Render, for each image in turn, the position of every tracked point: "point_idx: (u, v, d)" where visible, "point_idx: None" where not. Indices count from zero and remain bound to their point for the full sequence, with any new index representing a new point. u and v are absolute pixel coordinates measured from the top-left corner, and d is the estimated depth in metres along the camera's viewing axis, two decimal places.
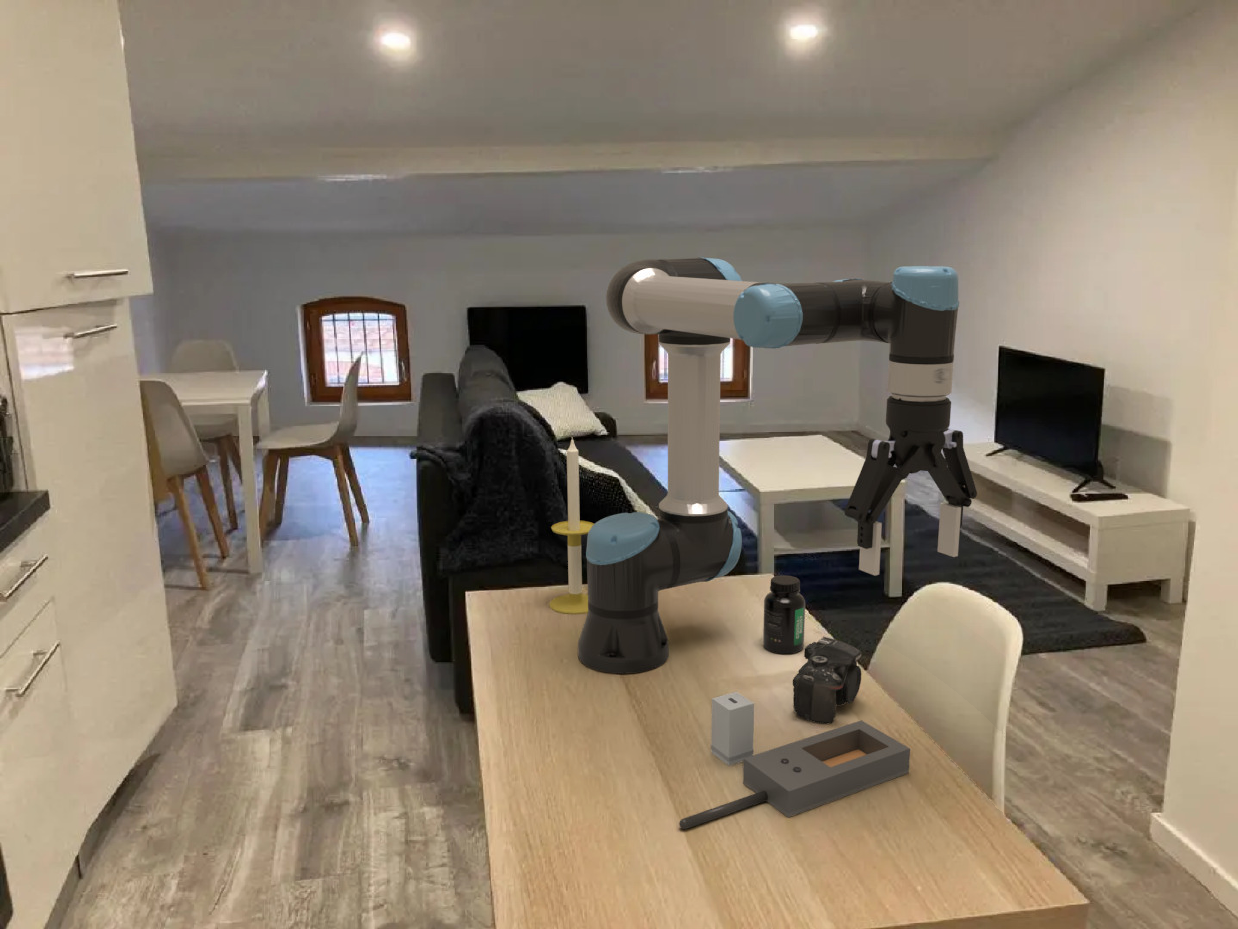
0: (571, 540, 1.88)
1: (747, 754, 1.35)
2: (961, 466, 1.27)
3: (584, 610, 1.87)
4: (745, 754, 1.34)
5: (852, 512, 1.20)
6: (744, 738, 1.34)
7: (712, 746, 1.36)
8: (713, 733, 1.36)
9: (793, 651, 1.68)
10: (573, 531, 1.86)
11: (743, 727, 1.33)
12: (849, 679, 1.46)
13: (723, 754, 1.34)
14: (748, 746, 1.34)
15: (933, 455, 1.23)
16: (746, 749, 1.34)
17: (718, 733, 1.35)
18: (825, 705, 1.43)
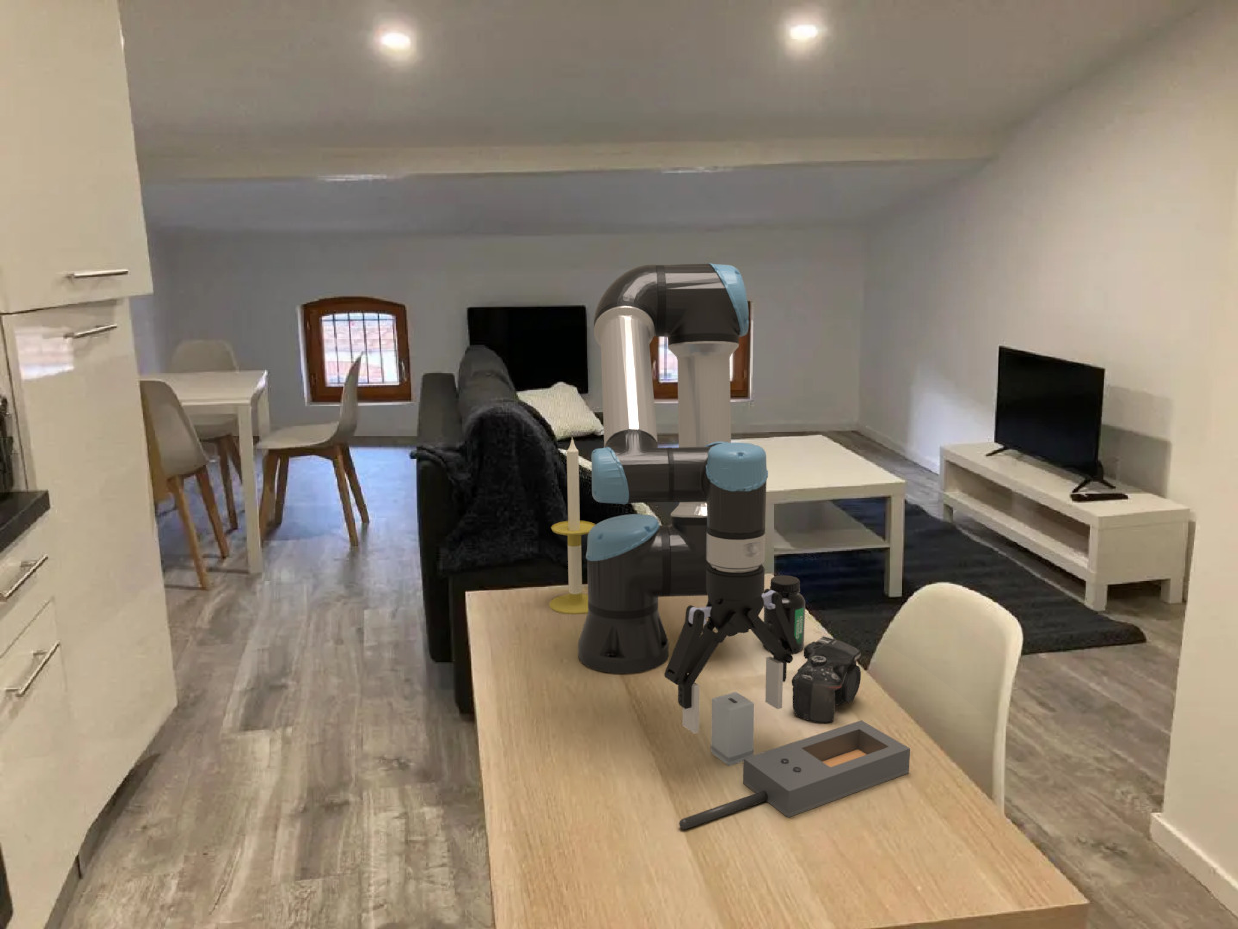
0: (571, 540, 1.88)
1: (747, 754, 1.35)
2: (781, 625, 1.34)
3: (584, 610, 1.87)
4: (745, 754, 1.34)
5: (670, 676, 1.28)
6: (744, 738, 1.34)
7: (712, 746, 1.36)
8: (713, 733, 1.36)
9: None
10: (573, 531, 1.86)
11: (742, 727, 1.33)
12: (848, 679, 1.46)
13: (723, 754, 1.34)
14: (748, 746, 1.34)
15: (750, 619, 1.30)
16: (746, 749, 1.34)
17: (718, 733, 1.35)
18: (824, 704, 1.44)
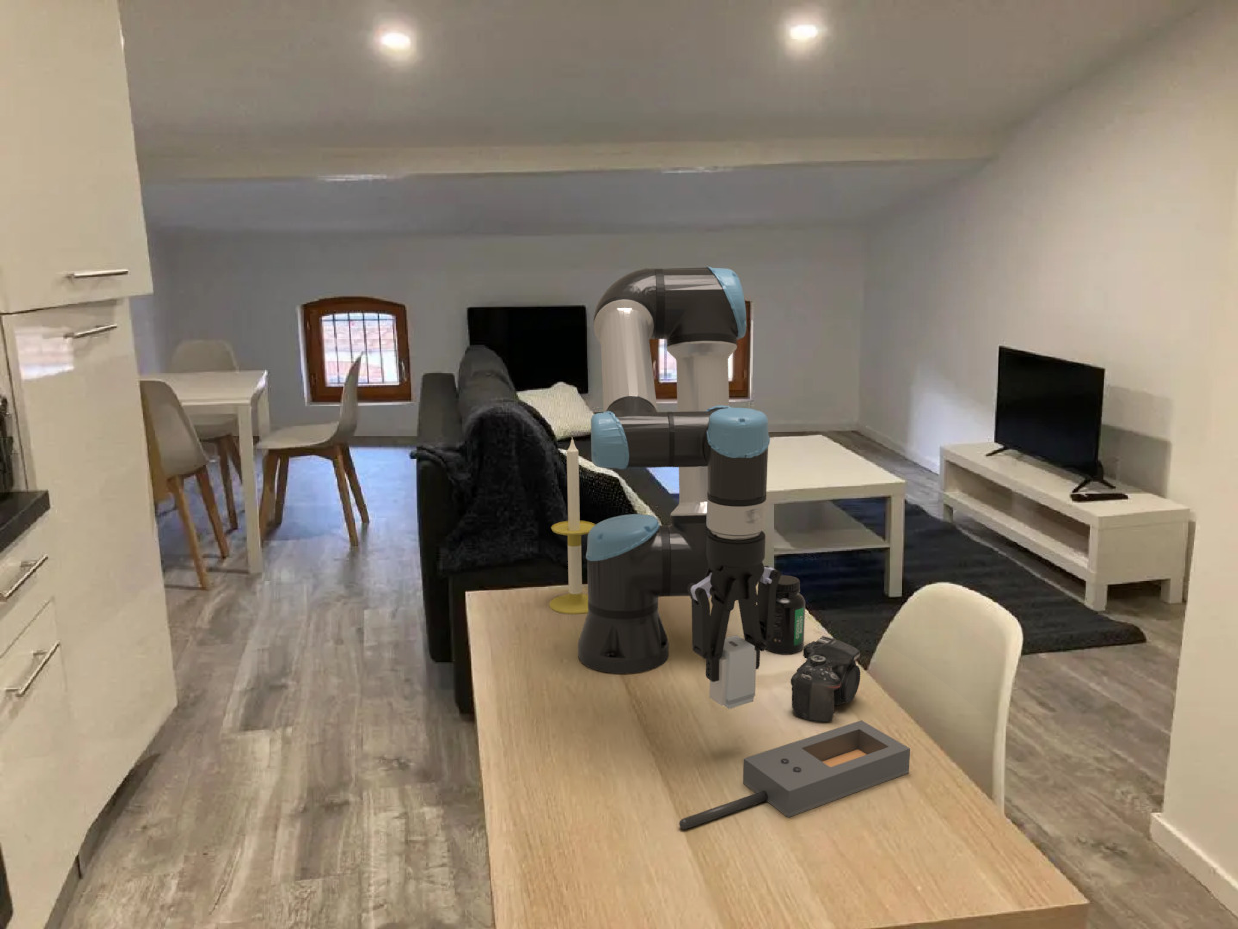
0: (571, 540, 1.88)
1: (747, 697, 1.33)
2: (768, 604, 1.33)
3: (584, 610, 1.87)
4: (745, 697, 1.33)
5: (698, 652, 1.30)
6: (745, 681, 1.33)
7: None
8: None
9: (793, 651, 1.68)
10: (573, 531, 1.86)
11: (743, 670, 1.32)
12: (847, 678, 1.46)
13: None
14: (749, 690, 1.33)
15: (748, 585, 1.29)
16: (746, 692, 1.33)
17: None
18: (823, 704, 1.44)
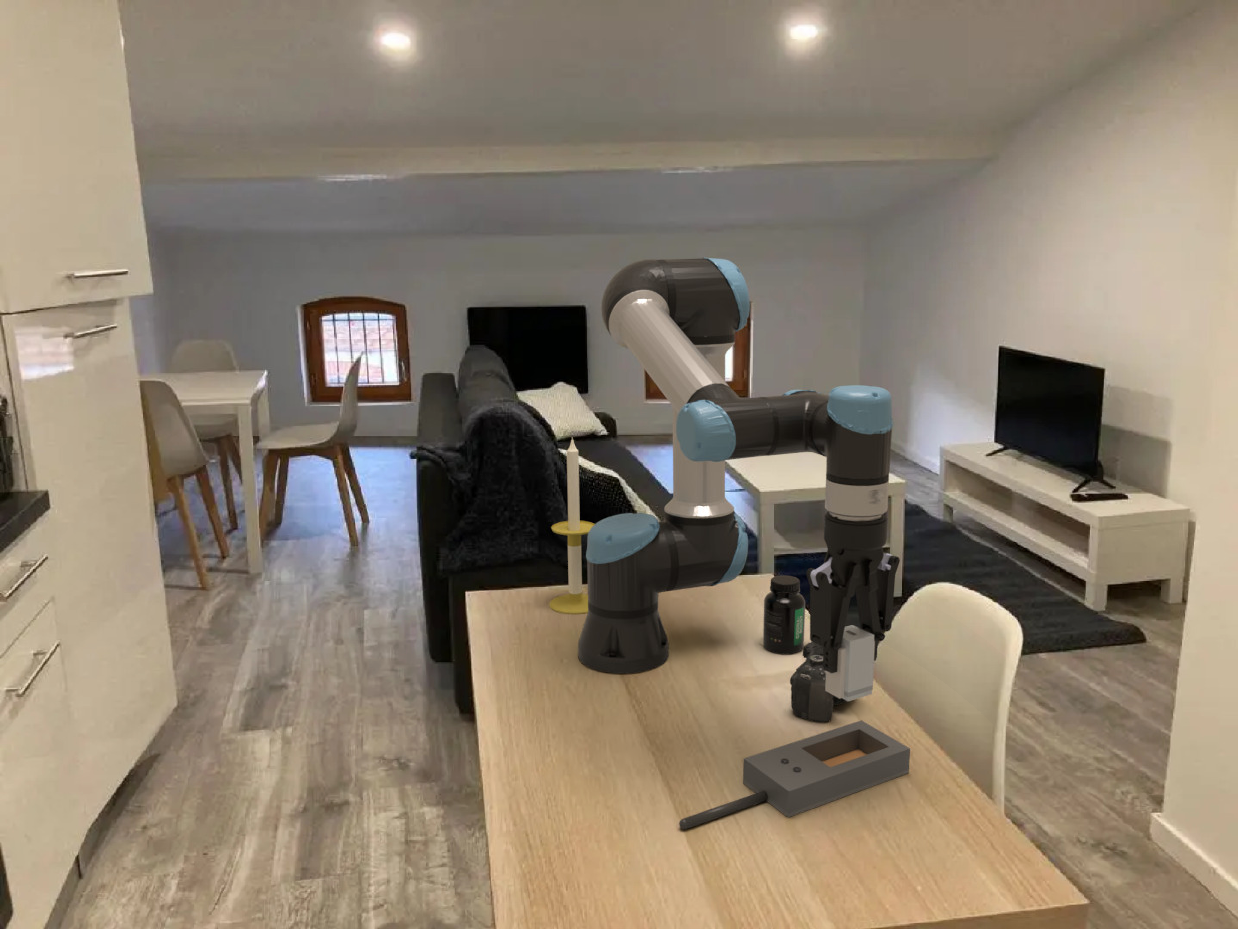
0: (571, 540, 1.88)
1: (866, 689, 1.27)
2: (887, 592, 1.27)
3: (584, 610, 1.87)
4: (864, 689, 1.27)
5: (816, 641, 1.24)
6: (864, 672, 1.27)
7: None
8: None
9: (793, 651, 1.68)
10: (573, 531, 1.86)
11: (862, 660, 1.26)
12: None
13: None
14: (867, 681, 1.27)
15: (869, 570, 1.24)
16: (865, 684, 1.27)
17: None
18: (822, 703, 1.44)
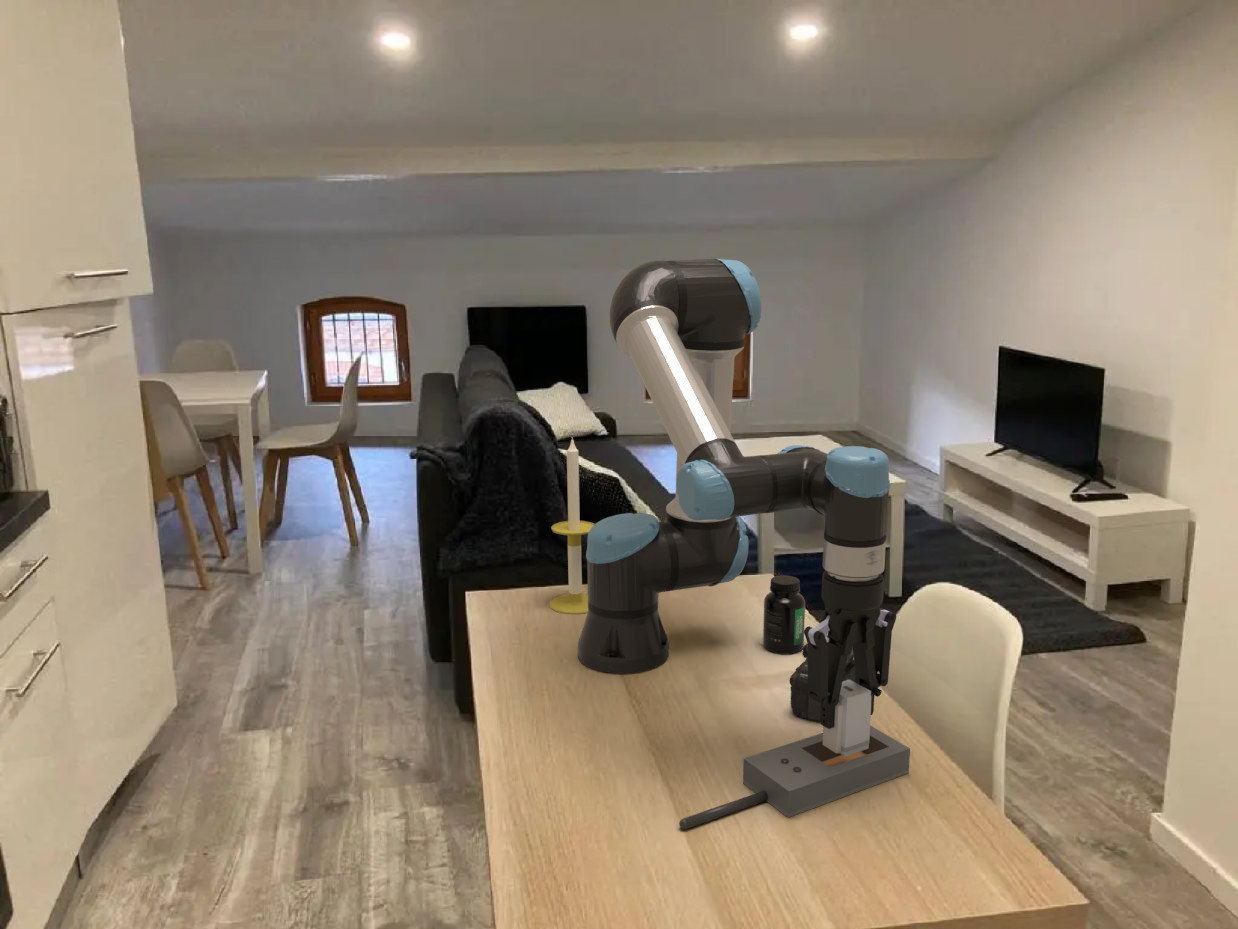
0: (571, 540, 1.88)
1: (863, 744, 1.29)
2: (884, 648, 1.29)
3: (584, 610, 1.87)
4: (861, 744, 1.29)
5: (814, 698, 1.26)
6: (860, 727, 1.28)
7: None
8: None
9: (793, 651, 1.68)
10: (573, 531, 1.86)
11: (859, 716, 1.28)
12: (846, 678, 1.47)
13: None
14: (864, 736, 1.29)
15: (866, 628, 1.26)
16: (862, 739, 1.29)
17: None
18: None
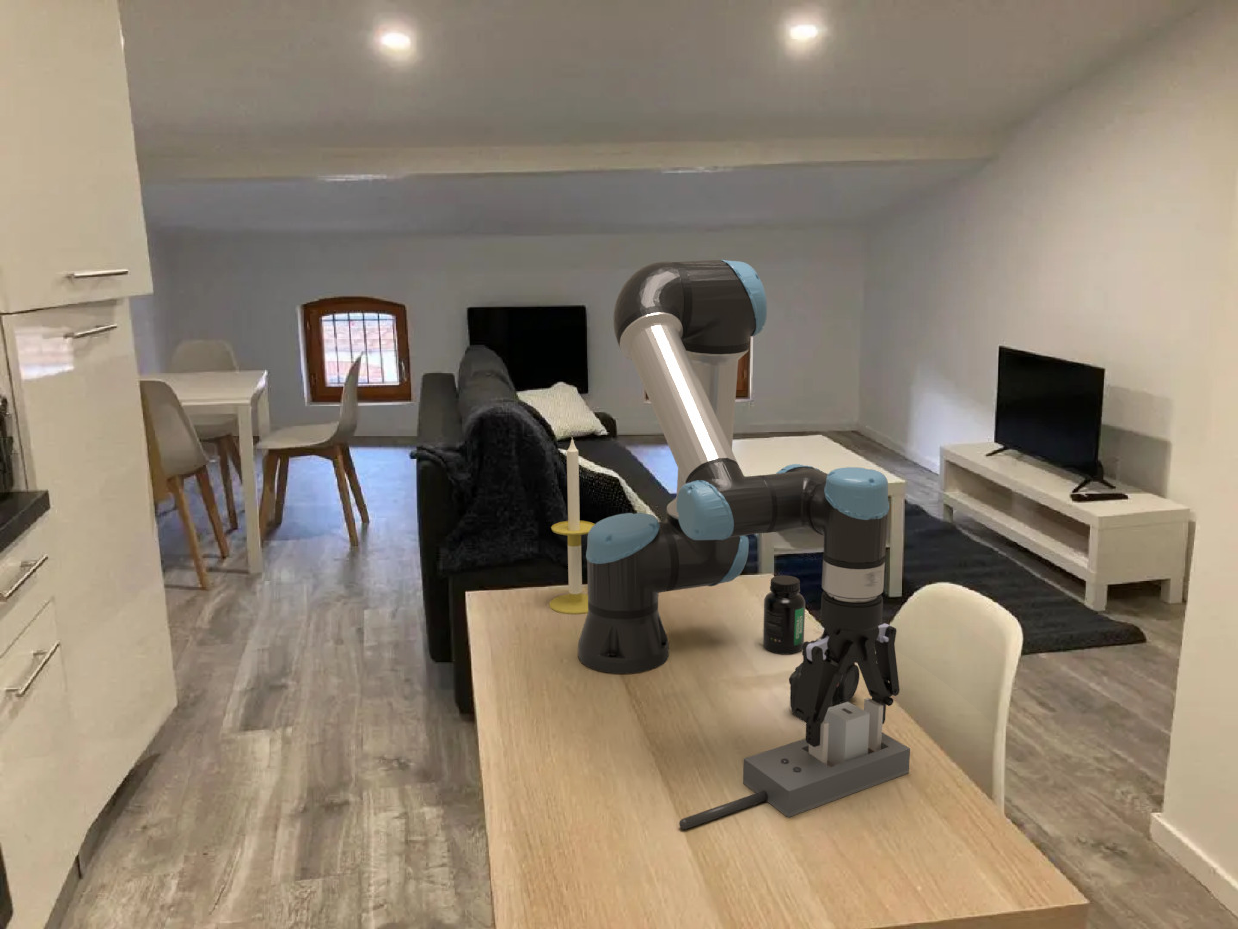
0: (571, 540, 1.88)
1: None
2: (889, 661, 1.30)
3: (584, 610, 1.87)
4: None
5: (799, 715, 1.25)
6: (859, 749, 1.29)
7: None
8: None
9: (793, 651, 1.68)
10: (573, 531, 1.86)
11: (858, 738, 1.29)
12: (846, 678, 1.47)
13: None
14: None
15: (865, 649, 1.26)
16: None
17: (831, 745, 1.30)
18: None
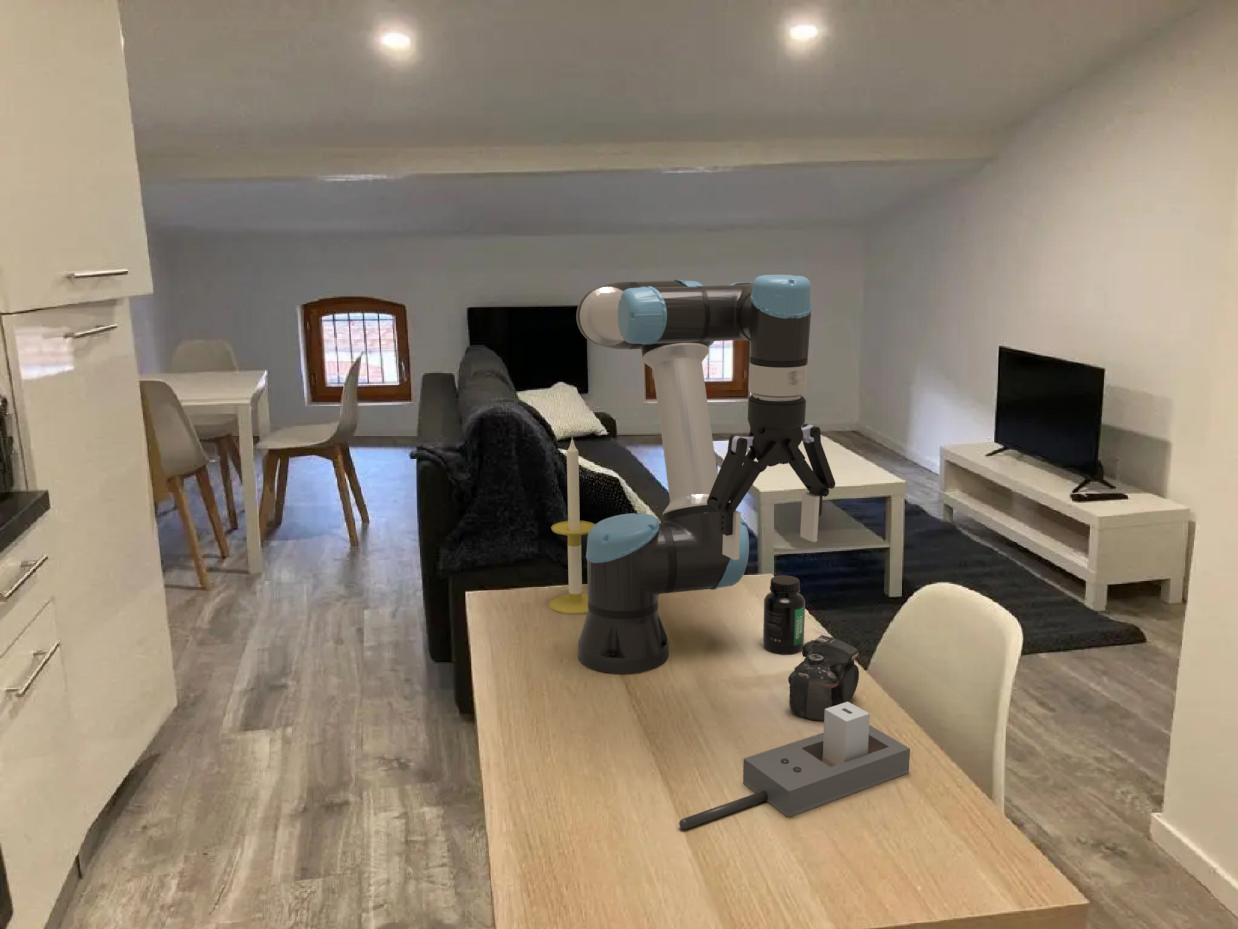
0: (571, 540, 1.88)
1: None
2: (819, 459, 1.37)
3: (584, 610, 1.87)
4: None
5: (713, 502, 1.31)
6: (859, 749, 1.29)
7: (824, 758, 1.32)
8: (825, 745, 1.31)
9: (793, 651, 1.68)
10: (573, 531, 1.86)
11: (858, 738, 1.29)
12: (845, 677, 1.47)
13: None
14: None
15: (790, 450, 1.33)
16: None
17: (831, 745, 1.30)
18: (820, 702, 1.44)
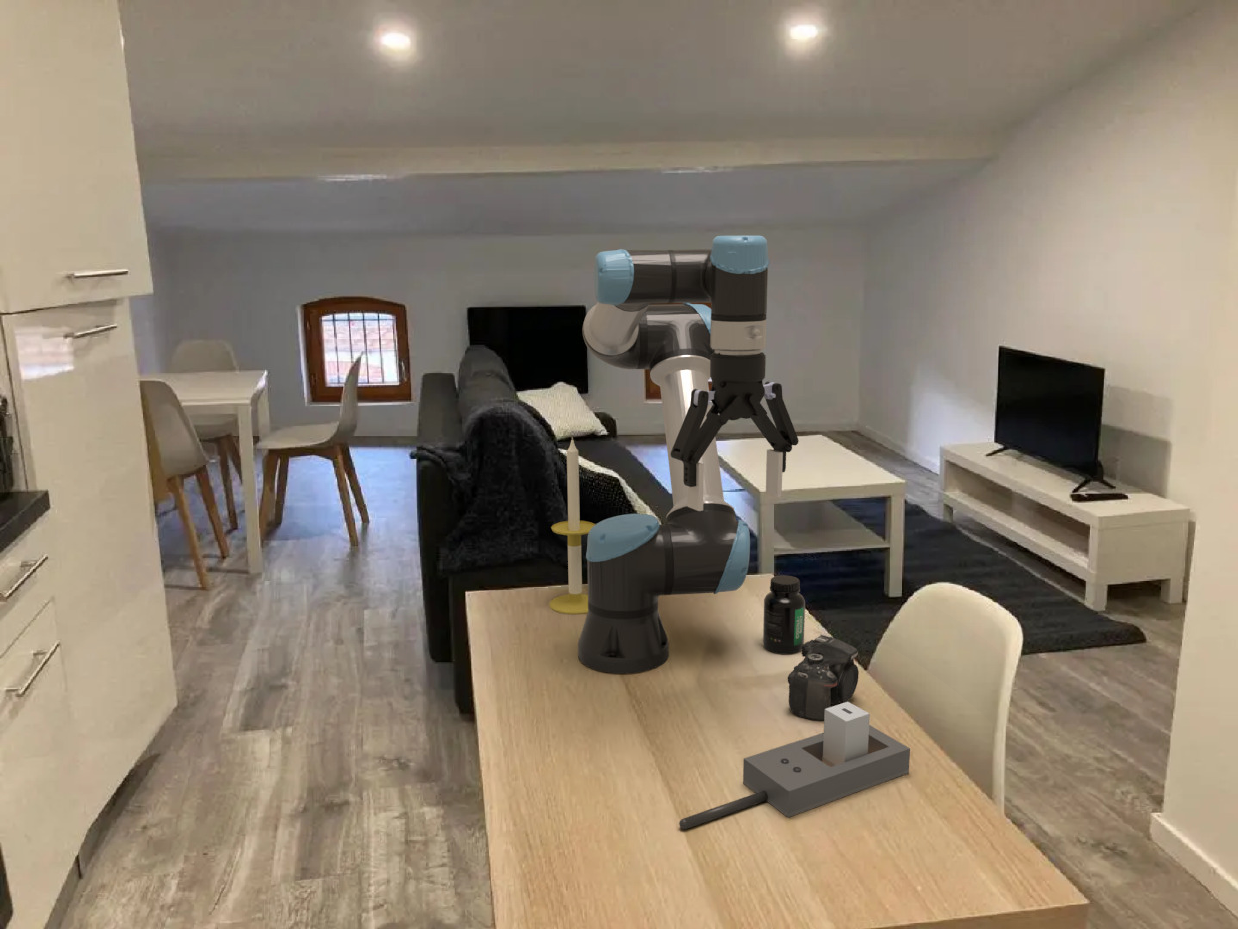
0: (571, 540, 1.88)
1: None
2: (781, 415, 1.42)
3: (584, 610, 1.87)
4: None
5: (676, 454, 1.35)
6: (859, 749, 1.29)
7: (824, 758, 1.32)
8: (825, 745, 1.31)
9: (793, 651, 1.68)
10: (573, 531, 1.86)
11: (858, 738, 1.29)
12: (845, 677, 1.47)
13: None
14: None
15: (751, 404, 1.38)
16: None
17: (831, 745, 1.30)
18: (819, 702, 1.44)
